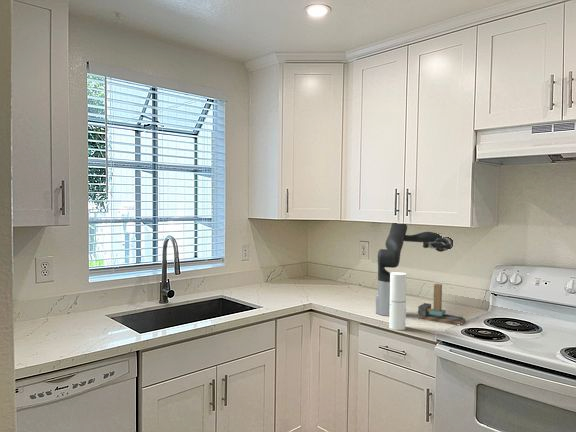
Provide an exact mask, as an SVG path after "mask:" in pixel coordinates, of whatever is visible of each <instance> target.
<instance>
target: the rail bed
mask: <svg viewBox="0 0 576 432" xmlns="http://www.w3.org/2000/svg"><path fill="white" fill-rule="evenodd" d="M427 308H430V309H432V304H431V303H427V302H426V303H425V302H424V303H422V304H420V305H418V307H417V318H418V319H419V320H425V321H432V322H436V323H441V324H449V325H455V326H458V325H457V324H461V323H463V322H464V323H465V322H466V318H464V316H459V315H452V314H447V313H445V314H444V315H442V316H437V315H431V314H429V313H427ZM464 323H463V324H464Z"/></svg>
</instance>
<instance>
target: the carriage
mask: <svg viewBox="0 0 576 432" xmlns="http://www.w3.org/2000/svg"><path fill="white" fill-rule="evenodd" d="M442 300H443V284H441V283H434V284H433V308H431V309H432V310H430V311H429V314H431V315H437V316H442V315H444V314H447V310H445V309H442V307H443V306H442V303H443V301H442Z"/></svg>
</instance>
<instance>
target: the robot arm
mask: <svg viewBox="0 0 576 432" xmlns="http://www.w3.org/2000/svg"><path fill="white" fill-rule="evenodd" d="M407 231H408V225H407V224H397V223H393V222H392V224H391V226H390V230H389V234H388V236H387V238H386V240H385V248H380V249H379V250H378V251H377V269H378V270H377V293H376V294H375V295H376V296H375V314H377V315H380V316H384V317H385V316H386V317H389V315H390V273H391V272H389V270H387V269H386V268H388V269H389V268H397V267H398V266H399V264H400V259H401V252H402V249H403V246H404V242H408V243H409V242H410V243H423V244H422V248H424V249H428V248H429V249H434V250H436V251H437V252H440V253H441V252H442V253H443V252H445V251H448V249H451V248H452V247H453V240H452V239H451V238H449V237H443V238H442V236H440V235H439V234H440V233H438V234H437V232H433V231H423V232H419V233H416V234H412V235H411V234H406V233H407Z"/></svg>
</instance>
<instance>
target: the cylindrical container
mask: <svg viewBox="0 0 576 432" xmlns="http://www.w3.org/2000/svg"><path fill="white" fill-rule="evenodd" d="M406 307H407V273H406V272H402V271H401V272H400V271H399V272H398V271H393V272H390V315H389V316H388V317H389V318H388V319H389V322H388V323H389V325H388V327H389V329H391V330H394V331H403V330H406V320H407V319H406V317H407V314H406V312H407V311H406V310H407V309H406Z"/></svg>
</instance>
